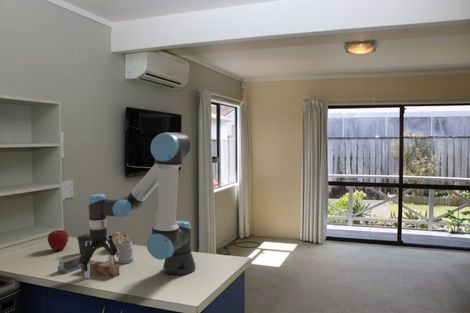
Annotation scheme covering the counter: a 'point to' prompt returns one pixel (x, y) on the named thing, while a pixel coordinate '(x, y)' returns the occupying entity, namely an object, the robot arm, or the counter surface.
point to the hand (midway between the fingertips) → (99, 273)
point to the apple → (58, 239)
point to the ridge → (69, 264)
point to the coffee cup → (82, 241)
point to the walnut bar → (103, 269)
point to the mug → (124, 251)
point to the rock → (120, 237)
